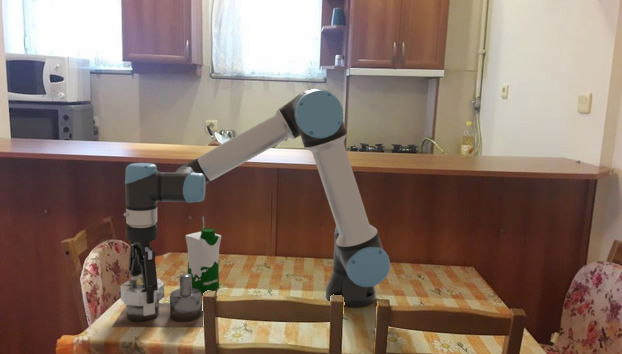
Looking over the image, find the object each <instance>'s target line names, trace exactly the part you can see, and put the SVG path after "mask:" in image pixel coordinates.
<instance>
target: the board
mask: <svg viewBox="0 0 622 354" xmlns="http://www.w3.org/2000/svg"><path fill="white" fill-rule="evenodd" d="M111 328H204V327H203V311H202V302H201V316H200V318H198V319H197V320H194V321H191V322H176V321H173V320H172V319H171V318H170V302H169V303H168V302H166V303H165V302H159V315H158V317H157V318H155V319H153V320H150V321H147V322H132V321H130V320H128V319H127V305H125V306H124V308H123V309H122V311H121V312H120V313H119V315H118V317H117V319H115V321H114V322H113V324H112V326H111Z"/></svg>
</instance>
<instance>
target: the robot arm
mask: <svg viewBox="0 0 622 354" xmlns="http://www.w3.org/2000/svg"><path fill="white" fill-rule="evenodd" d="M275 112H276V113H275V114H273V115H272V116H270V117H268V118H267V119H265V120H262V121H261V122H259V123H258V124H255V125H254V126H251V127H250V128H249V129H246V130H245V131H243V132H241V133H240V134H238V135H236V136H235V137H232V138H230V139H229V140H227V141H225V142H223V143H222V144H219V145H218V146H216V147H214V148H212V149H211V150H209V151H207V152H205V153H204V154H201V155H200V156H198V157H197V158H194V159H193V160H191V161H189V162H187V163H184V164H182V165H180V166H179V167H178V168H177V169H176V171H175V172H174V171H173V172H168V171H167V172H166V171H165V172H164V171H163V172H162V171H158V169H157V168H158V167H157V165H156V164H155V163H150V162H134V163H130V164H128V165H127V166H126V167H125V176H124V177H125V178H124V179H125V180H124V187H125V192H124V193H125V212H124V213H123V216H124V217H125V220H126V222H125V223H126V224H127V225H126V226H125V235H126V237H125V238H126V240H127V241H128V242H129V259H128V260H129V261H128V271H129V272H130V276H131V278H130V280H131V279H137V278H140V277H143V284H144V290H141V291H142V293H143V315H144V316H146V315H151V314H155V290H158V284H157V278H158V277H157V274H158V273H157V266H156V265H157V264H156V251H155V250H153V247H152V246H151V242H152V241H154V240H156V239H157V238H158V224H157V222H158V202H162V203H165V202H167V203H169V202H170V203H189V204H192V203H201V202H203V201H204V200H205V199H206V198H205V197H206V188H207V187H206V185H207V184H208V183H210V182H211V181H214V180H215V179H218V178H219V177H220V176H222V175H225V174H226V173H228V172H230V171H232V170H233V169H235V168H237V167H239V166H240V165H243V164H245V163H246V162H248V161H249V160H251V159H253V158H256V157H257V156H259V155H260V154H263V153H264V152H266V151H268V150H270V149H271V148H274V147H275V146H276V145H278V144H281V143H282V142H284V141H286V140H288V139H292V140H295V139H296V138H299V137H300V138H301V141H302V144H303V146H304V149H306V150H307V151H310V152H311V153H312V156H313V159H314V161H315V164H316V168H317V170H318V174H319V177H320V180H321V184H322V187H323V189H324V193H325V195H326V199H327V201H328V205H329V208H330V211H331V213H332V217H333V219H334V222H335V229H334V233H333V236H334V242H333V243H334V244H333V245H334V246H333V263H332V264H333V265H332V272H331V275H330V278H329V280H328V283H327V285H326V289H325V297H326V299H327V300H328V301H330V296H331V295H333V294H334V295H342V296H343V297H344V302H345V306H344V307H348V306H350V307H349V308H359V307H360V308H361V307H366V306H369V305H372V304H373V303H374V302H375V301H376V289H375V286H377V285H379V284H381V283H382V282H384V280H385V279H386V278H387V276H388V275H389V273H390V269H391V261H390V258H389V254H387V253H388V252H386V251H385V250H384V247H383V245H382V241H381V239H380V235H379V232H378V229H377V228H376V227H375V226H373V224H370V222H369V219H368V216H367V212H366V209H365V206H364V203H363V200H362V195H361V193H360V189H359V187H358V183H357V181H356V177H355V174H354V172H353V168H352V164H351V161H350V158H349V155H348V152H347V148H346V146H345V140H346V137H348V133H347V130H346V129H347V128H346V126H345V122H344V109H343V105H342V104H341V102H340V100H339V98H337V96H336V95H335V94H334V93H332V92H330V91H329V90H326V89H323V88H313V89H308V90H304V91H302V92H300V93H299V94H297V95H296V96H295V97H294V98H292V99H291V100H290V101H288V102H287V103H286V104H284V105H282V106H281V107H279V108H277V109H276V111H275Z"/></svg>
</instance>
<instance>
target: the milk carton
mask: <svg viewBox="0 0 622 354" xmlns="http://www.w3.org/2000/svg"><path fill="white" fill-rule="evenodd" d="M185 240H186V246H187V274H191V275H192V288H194V289H198V290H199V291H201V295H204V294H205V293H204V292H205V291H207V290H213V291H216V290H218V289H219V288H220V275H219V274H220V272H219V271H220V270H219V269H220V246H221V240H222V235H221V234H217V233H216V230H215V228H210V227H208V228H207V227H206V228H205V229H203V228H202V229H201V230H200V231H197V232H193V233H189V234H185ZM203 293H204V294H203Z"/></svg>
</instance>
